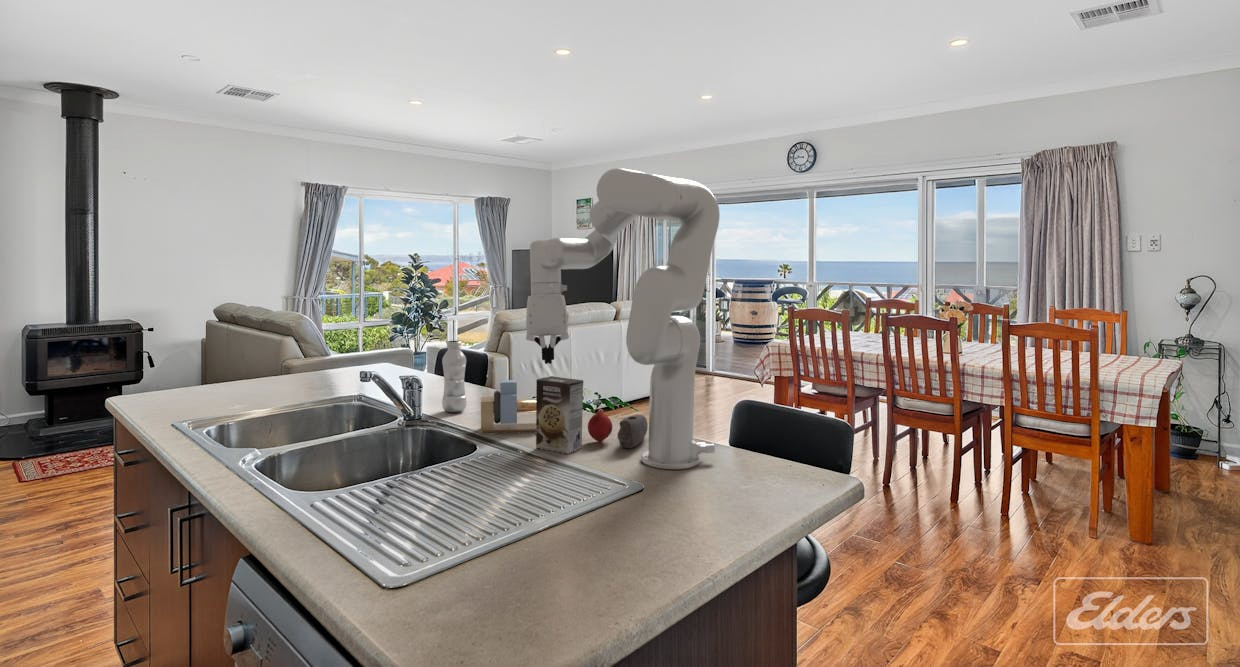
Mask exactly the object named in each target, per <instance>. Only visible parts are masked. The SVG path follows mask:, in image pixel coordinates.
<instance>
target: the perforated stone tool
mask: <svg viewBox="0 0 1240 667" xmlns="http://www.w3.org/2000/svg"><path fill="white" fill-rule="evenodd" d="M648 429H649V423H648V420H647V418H646V417H645V415H642V414H635V415H630V416H627V417H625V418H623V419H622V420H620V421H619V430H618V433H617V439H618V442H619V445H620V447H623V448H626V449H633V448H636V447H638V446H639V445H640V444H641V443H642V442H643V440H644V439H645V437H646V435H647V431H648Z"/></svg>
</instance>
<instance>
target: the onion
mask: <svg viewBox="0 0 1240 667" xmlns="http://www.w3.org/2000/svg"><path fill="white" fill-rule="evenodd" d="M612 431H613V423H612V420H611V419H610V418H609V416H608V415H607V414H606V413H604V409H602V408H600V409H598V410H597V412H596V413H595V414H593V415H592V417H591V418H590V419H589V420H588V424H587V432H588V434H589V435H590V437H591V438H592V439H593V440H595V441H597V443H603V441H604V440H606V439H607V438H608V437H609V436H610V435H611V433H612Z"/></svg>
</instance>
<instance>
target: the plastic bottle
mask: <svg viewBox="0 0 1240 667" xmlns="http://www.w3.org/2000/svg"><path fill="white" fill-rule="evenodd" d="M461 344H462V341H461V340H447V341H446V349H447V351H446V352H445V353H444V354H443V356H442V359H441V360H442V362H441V363H442V369H443V370H442V371H443V378H444V381H443V383H444V386H443V395H442V400H441V401H442V402H441V404H442V409H443V411H445V412H449V413H453V414H454V413H459V412H463V411H464V410H465V409H466V408H467V396H466V391H465V378H466V377H465V375H466V374H465V373H466V365H467V356H466V355H465V354H464V352H462V350H461V349H462V345H461Z"/></svg>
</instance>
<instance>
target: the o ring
mask: <svg viewBox="0 0 1240 667" xmlns="http://www.w3.org/2000/svg"><path fill="white" fill-rule="evenodd" d="M493 397H494V424H501V414H500V390H495V391H494V392H493Z"/></svg>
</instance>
